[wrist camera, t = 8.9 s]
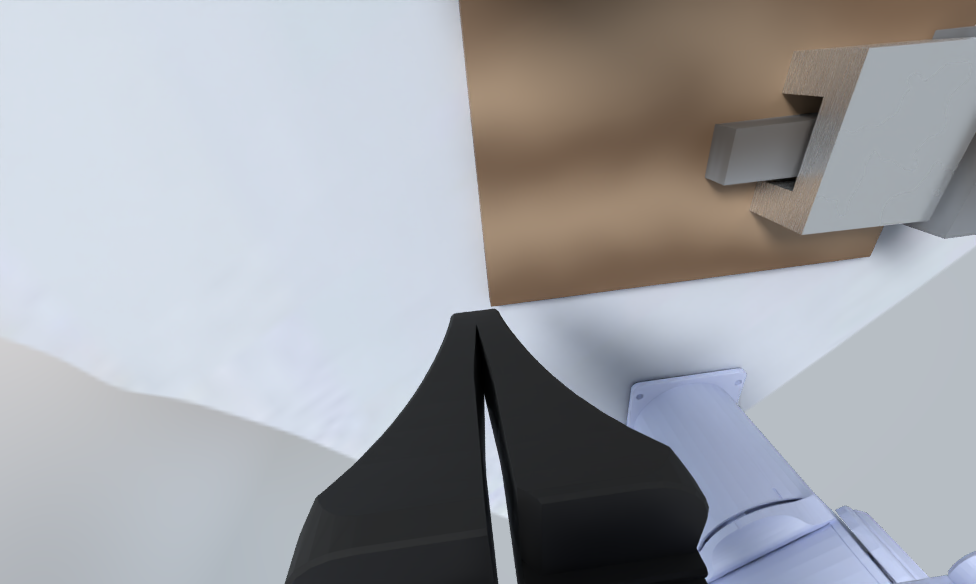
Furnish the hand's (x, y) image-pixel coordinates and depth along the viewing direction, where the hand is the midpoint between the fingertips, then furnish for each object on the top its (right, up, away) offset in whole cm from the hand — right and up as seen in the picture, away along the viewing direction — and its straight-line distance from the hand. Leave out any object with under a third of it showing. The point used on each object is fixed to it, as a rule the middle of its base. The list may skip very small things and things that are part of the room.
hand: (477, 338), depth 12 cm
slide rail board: (+11, +8, +7) cm, 15 cm away
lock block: (+17, +9, +7) cm, 20 cm away
